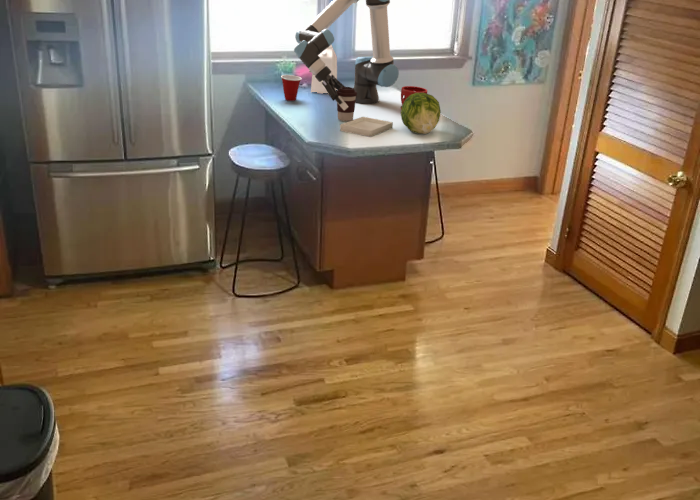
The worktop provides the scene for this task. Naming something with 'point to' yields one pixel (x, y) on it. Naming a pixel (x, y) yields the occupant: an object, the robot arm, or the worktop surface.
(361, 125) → the tray
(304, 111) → the worktop surface
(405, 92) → the plant pot
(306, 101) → the worktop surface
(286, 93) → the plastic cup
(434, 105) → the lettuce
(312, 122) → the worktop surface
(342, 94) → the coffee cup
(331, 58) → the milk
